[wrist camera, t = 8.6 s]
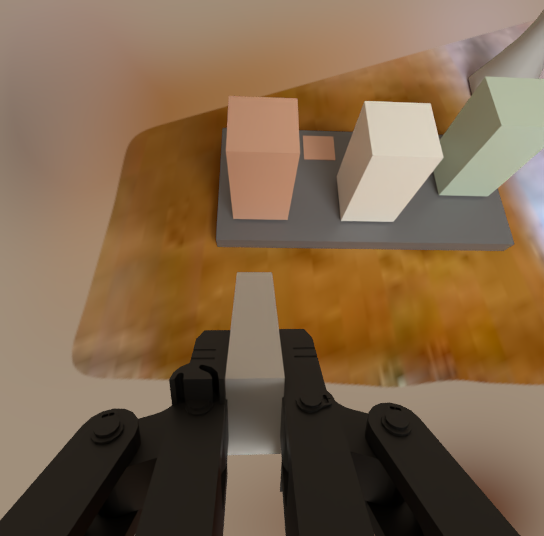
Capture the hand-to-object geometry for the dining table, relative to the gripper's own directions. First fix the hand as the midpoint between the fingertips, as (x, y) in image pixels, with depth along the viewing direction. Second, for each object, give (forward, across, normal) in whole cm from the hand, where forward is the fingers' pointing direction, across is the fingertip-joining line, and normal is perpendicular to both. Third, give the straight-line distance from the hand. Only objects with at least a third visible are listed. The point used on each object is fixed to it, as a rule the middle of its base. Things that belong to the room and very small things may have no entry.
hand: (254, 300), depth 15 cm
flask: (+32, +30, +11) cm, 45 cm away
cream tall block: (+19, +11, +1) cm, 22 cm away
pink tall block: (+19, +1, +1) cm, 19 cm away
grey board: (+22, +11, +1) cm, 24 cm away
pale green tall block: (+21, +21, +3) cm, 30 cm away
